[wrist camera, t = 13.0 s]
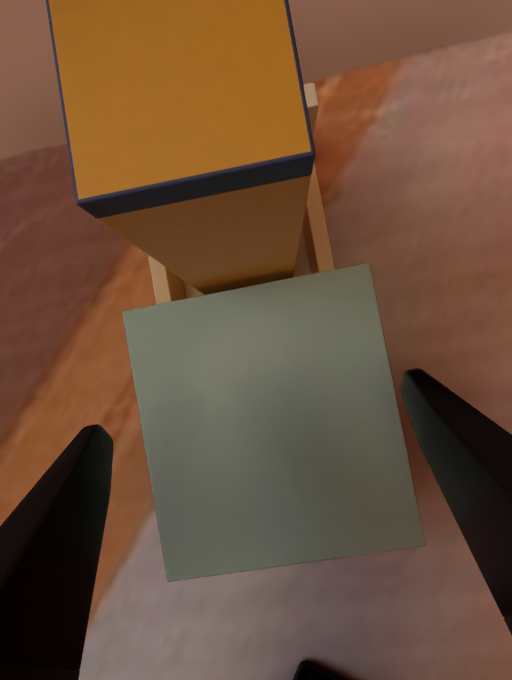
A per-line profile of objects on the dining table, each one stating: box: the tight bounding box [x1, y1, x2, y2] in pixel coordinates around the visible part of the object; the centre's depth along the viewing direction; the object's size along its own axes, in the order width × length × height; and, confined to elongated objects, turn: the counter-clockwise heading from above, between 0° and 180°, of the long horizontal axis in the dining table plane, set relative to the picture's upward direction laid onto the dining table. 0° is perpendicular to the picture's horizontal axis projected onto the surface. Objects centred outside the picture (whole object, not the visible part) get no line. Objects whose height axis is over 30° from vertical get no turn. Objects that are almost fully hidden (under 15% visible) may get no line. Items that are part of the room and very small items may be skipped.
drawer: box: [148, 82, 335, 304], centre depth 19 cm, size 13×10×4 cm
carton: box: [46, 0, 316, 295], centre depth 13 cm, size 5×5×13 cm
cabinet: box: [122, 263, 425, 582], centre depth 18 cm, size 13×12×6 cm
